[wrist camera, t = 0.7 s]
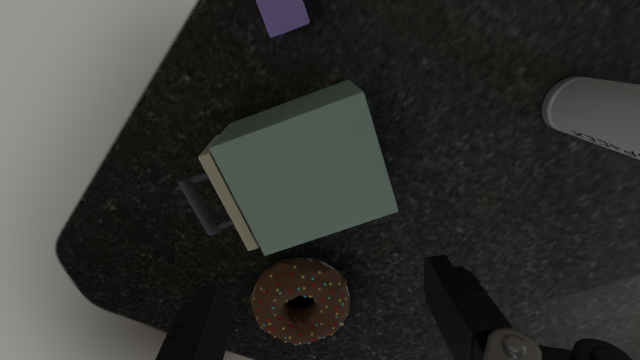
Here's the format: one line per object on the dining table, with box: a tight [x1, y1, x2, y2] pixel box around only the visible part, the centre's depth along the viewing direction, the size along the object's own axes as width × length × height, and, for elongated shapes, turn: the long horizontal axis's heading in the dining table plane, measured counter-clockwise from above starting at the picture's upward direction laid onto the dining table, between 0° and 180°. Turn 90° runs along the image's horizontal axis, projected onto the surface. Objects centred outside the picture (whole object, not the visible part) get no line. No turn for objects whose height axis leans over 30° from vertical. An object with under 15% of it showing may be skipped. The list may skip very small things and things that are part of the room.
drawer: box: [177, 134, 259, 251], centre depth 36 cm, size 18×11×7 cm, turn 109°
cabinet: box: [209, 80, 398, 256], centre depth 36 cm, size 15×13×9 cm
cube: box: [256, 0, 310, 38], centre depth 32 cm, size 4×4×4 cm
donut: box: [250, 257, 351, 345], centre depth 46 cm, size 14×14×5 cm
